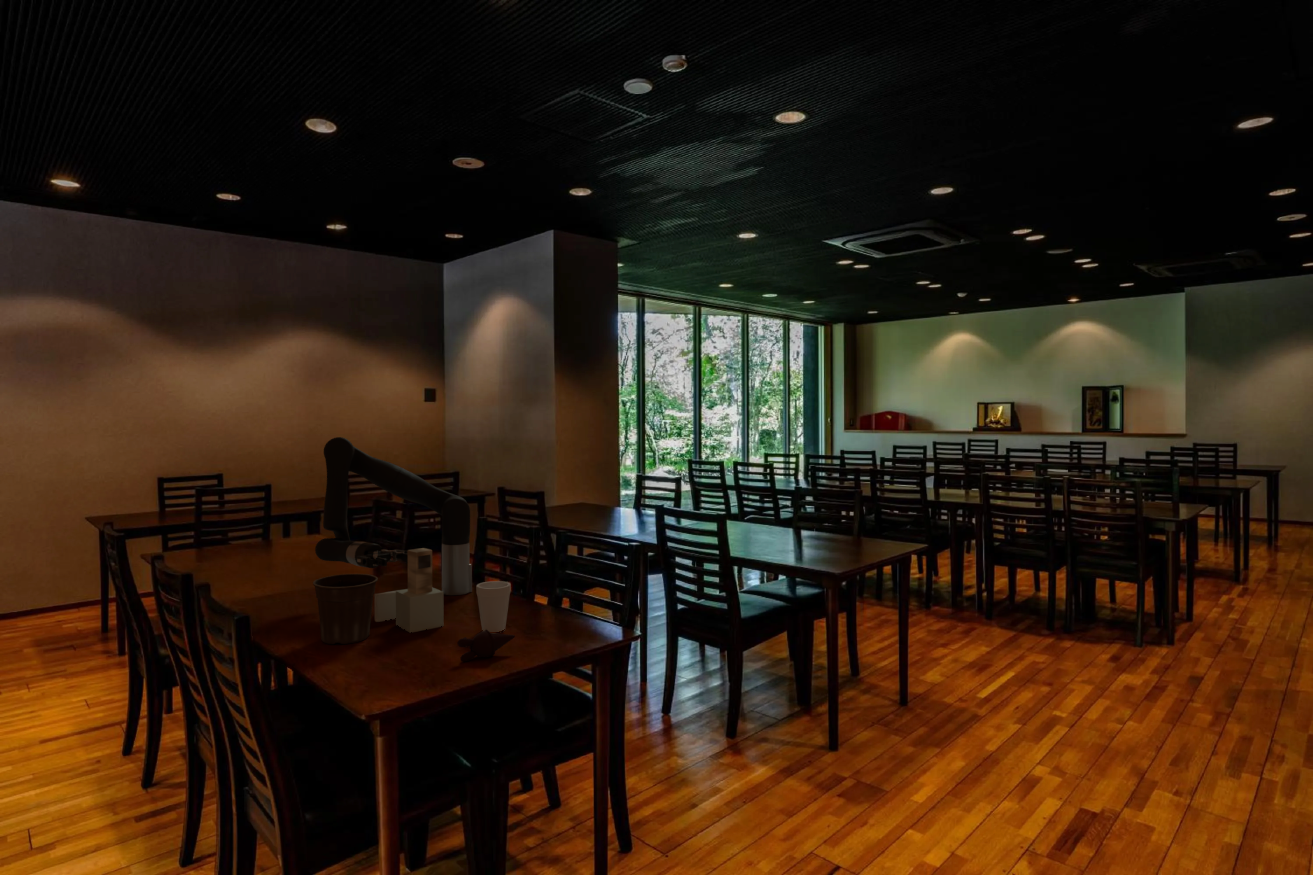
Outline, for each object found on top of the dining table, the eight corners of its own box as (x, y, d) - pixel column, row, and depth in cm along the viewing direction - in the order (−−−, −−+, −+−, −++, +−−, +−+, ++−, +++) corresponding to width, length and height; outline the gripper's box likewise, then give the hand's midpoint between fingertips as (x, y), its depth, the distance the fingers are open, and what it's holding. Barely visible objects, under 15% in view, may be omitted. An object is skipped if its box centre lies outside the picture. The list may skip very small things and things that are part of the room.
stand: (428, 618, 216) (428, 585, 215) (443, 626, 208) (443, 591, 208) (395, 625, 209) (395, 590, 209) (410, 632, 202) (409, 597, 201)
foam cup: (506, 635, 200) (506, 588, 199) (472, 634, 200) (472, 588, 200) (513, 625, 209) (513, 581, 209) (481, 625, 209) (481, 580, 209)
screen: (426, 611, 224) (426, 585, 224) (429, 612, 223) (428, 586, 222) (374, 620, 213) (374, 593, 213) (377, 622, 212) (377, 595, 212)
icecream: (506, 622, 190) (451, 637, 181) (517, 622, 184) (461, 637, 175) (511, 649, 189) (456, 665, 180) (522, 649, 183) (466, 666, 174)
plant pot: (390, 635, 199) (390, 577, 199) (338, 651, 185) (338, 589, 185) (352, 626, 207) (352, 571, 207) (300, 641, 194) (300, 581, 193)
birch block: (423, 588, 212) (423, 547, 212) (432, 591, 209) (432, 550, 208) (407, 591, 209) (407, 550, 208) (416, 594, 205) (416, 552, 205)
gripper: (343, 545, 216) (377, 551, 207) (384, 539, 228) (418, 544, 219) (343, 570, 216) (377, 577, 208) (384, 562, 228) (418, 568, 219)
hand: (398, 560), depth 213 cm, fingers open, 8 cm apart
